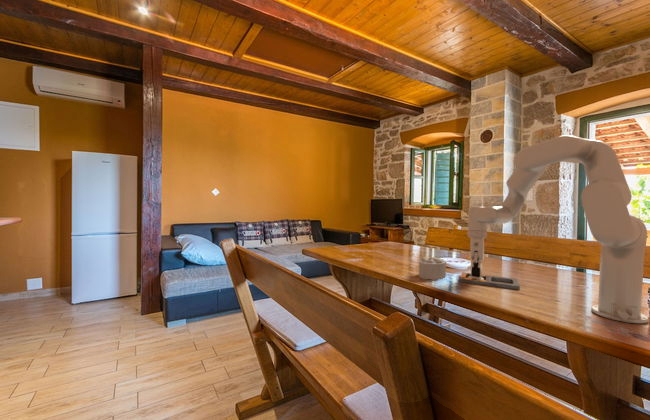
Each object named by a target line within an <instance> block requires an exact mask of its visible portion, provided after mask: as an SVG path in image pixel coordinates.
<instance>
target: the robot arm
mask: <svg viewBox="0 0 650 420" xmlns="http://www.w3.org/2000/svg"><path fill="white" fill-rule="evenodd" d="M561 162H565V163H571V164H582V165H583V167H584V173H585V177H586V179H587V182H588V184H587V185H586V186H585V187H584V188H583V189H582V191H581V196H580V198H581V199H580V200H581V204H582V207H583V208H582V209H583V211H584V215H585V217H586V221H587V224H588V225H587V226H588V227H589V231H590V233H591V235H592V237H593V238H594V240H595V241H597V242H598V243H599V244H600V245H601V249H600V259H599V275H598V276H599V278H598V298H597V300H598V303H597V304H594V305H592V306H591V312H593V313H595V314H596V315H598V316H601V317H603V318H607V319H610V320H614V321H618V322H621V323H622V322H623V323H630V324H646V323H648V322H649V316H647V315H646V314H643V313H642V301H643V300H642V298H643V282H644V281H643V278H644V265H645V264H644V261H645V251H646V245H647V239H648V230H647V227H646V224H645V223H644V221H642V220H641V219H640V218H638V217H637V216H635V215H632V214H630V212H629V209H628V205H630V203H631V201H632V198H633V197H632V196H633V195H632V191H631V190H630V187H629V185H628V181H627V179H626V176H625V174H624V171H623V169H622V166H621V163H620V161H619V158H618V156H617V154H616V152H615V150H614V148H613V147H612V146H611V145H609V144H608V143H606V142H604V141H602V140H596V139H589V138H583V137H579V136H575V135H572V134H571V135H569V134H568V135H567V134H566V135H565V134H564V135H558V136H556V137H555V136H554V137H553V138H549V139H547V140H544V141H541V142H537V143H534V144H532V145H528V146H526V147H523V148H521V150H519V151H517V153H516V154H515V156H514V159H513V163H514V167H516V168H515V169H514V171H513V172H512V173H511V175H510V176H509V178H508V179H507V180H506V186H507V188H508V194H507V196H506V197H505V199H504V200H503V202H502V203H501V204H500V205H494V206H493V205H492V206H479V205H477V206H476V205H474V206H473V205H472V206H469V208H468V212H467V213H468V214H467V238H470V245H469V246H470V247H469V248H470V249H469V250H470V260H471V261H473V264H472V276H474V277H480V268H479V267H480V262H484V260H485V239H487V238H488V225H501V224H502V225H504V224H506V223H507V224H508V223H509V222H511V221H512V220H513V219H514V218H515V217H516V216H517V214H518V213H519V212H520V211H521V209H522V208H523V206H524V204H525V202H526V199H527V197H528V193H529V192H530V191H531V189H532V188H533V187H534V185H536V183H537V182H538V180H539V179H540V178H541V177H542V176H543V174H544V173H545V172H546V171H547V170H548V168H549V167H550V165H554V164H559V163H561Z"/></svg>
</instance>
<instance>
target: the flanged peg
mask: <svg viewBox="0 0 650 420" xmlns="http://www.w3.org/2000/svg"><path fill="white" fill-rule="evenodd" d="M472 264H473V260H471V261H470V273H471V276H469V277H468V278H473V279H481V280H485V279H484V278H482V274H483V261H480V267H479V268H480V277H474V276H472Z"/></svg>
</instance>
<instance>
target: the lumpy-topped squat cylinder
mask: <svg viewBox="0 0 650 420" xmlns="http://www.w3.org/2000/svg"><path fill="white" fill-rule="evenodd" d="M418 264H419V265H418V278H420V277H421V278H423V279H422V280H425V279H432V280H431V281H439V280H438V279H440V280H444V279H446V278H445V277H447V261H446V260H443V259H442V258H439V257H435V256H430V257H429V258H427V257H426V256H423V257H422V258H421V259H420V260H419V262H418ZM421 278H420V279H421ZM443 278H444V279H443Z"/></svg>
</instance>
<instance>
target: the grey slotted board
mask: <svg viewBox="0 0 650 420" xmlns="http://www.w3.org/2000/svg"><path fill="white" fill-rule="evenodd" d="M469 276H471V272H468V271H467V272H464V271H463V272H461V274H460V277H459V283H465V284H472V285H473V284H474V285H478V286H479V285H480V286H487V287H488V286H489V287H494V288H503V289H510V290H515V291H516V290H518V291H520V290H521V287H520V285H521V284H520V281H519V279H518V278H514V277H513V278H512V277H505V276H504V277H503V276H495V275H487V274H485V273H482V278H484V280H481V279H473V278H469Z"/></svg>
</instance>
